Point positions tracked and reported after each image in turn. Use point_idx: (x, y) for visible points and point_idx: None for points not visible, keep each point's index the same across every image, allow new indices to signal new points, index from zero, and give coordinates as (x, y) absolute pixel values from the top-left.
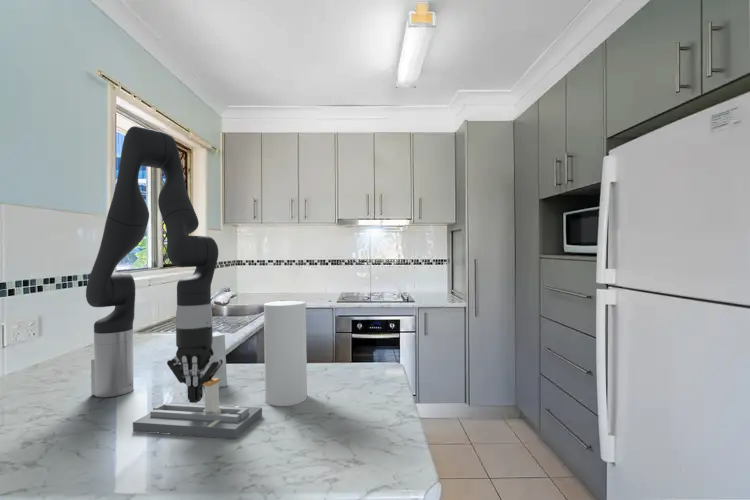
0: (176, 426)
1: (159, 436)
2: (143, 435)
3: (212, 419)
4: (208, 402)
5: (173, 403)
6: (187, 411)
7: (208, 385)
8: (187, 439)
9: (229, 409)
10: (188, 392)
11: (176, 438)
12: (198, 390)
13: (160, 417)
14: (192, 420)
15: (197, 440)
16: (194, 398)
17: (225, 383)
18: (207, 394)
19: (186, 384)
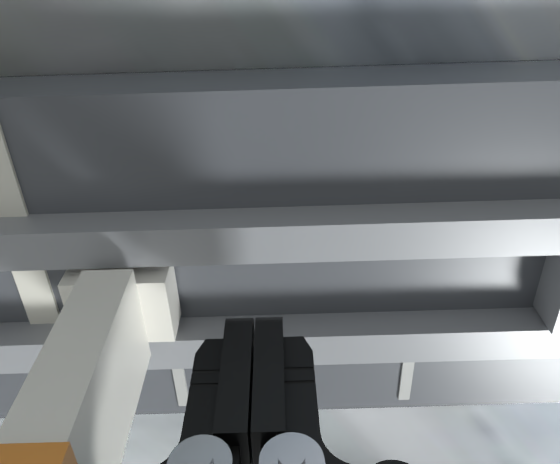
0: (266, 85)
1: (379, 19)
2: (517, 12)
3: (52, 217)
4: (79, 317)
5: (532, 393)
6: (354, 310)
7: (7, 450)
8: (129, 12)
9: (20, 342)
10: (307, 387)
11: (224, 12)
12: (190, 410)
13: (494, 195)
14: (205, 189)
15: (41, 11)
16: (228, 340)
17: None
18: (66, 371)
19: (317, 448)
